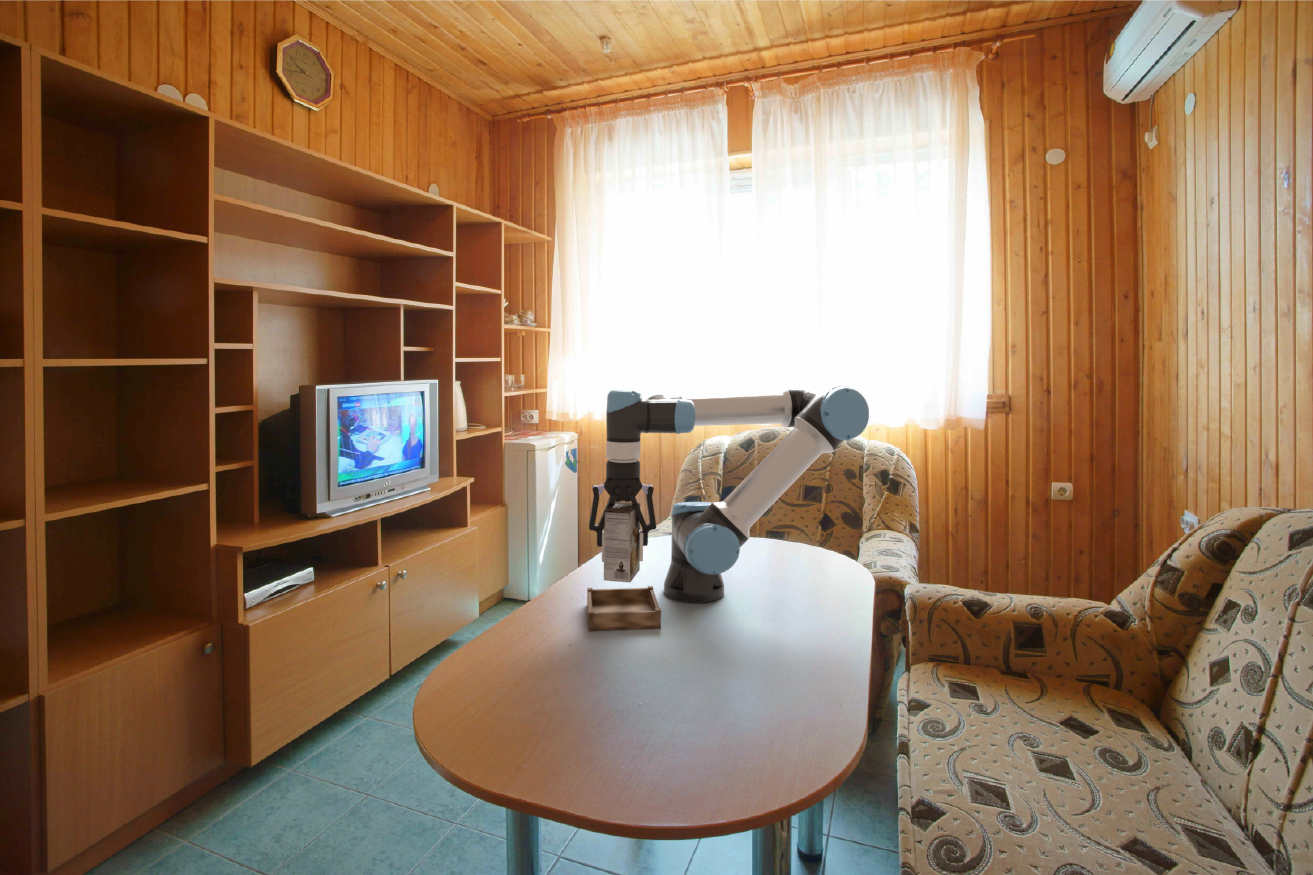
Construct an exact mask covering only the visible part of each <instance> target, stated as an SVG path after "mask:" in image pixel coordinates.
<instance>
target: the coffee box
mask: <svg viewBox="0 0 1313 875" xmlns="http://www.w3.org/2000/svg"><path fill="white" fill-rule="evenodd" d="M637 503H638V505H639V508H640V509H641V503H640V502H637ZM604 509H605V508H604ZM603 512H604V529H603V531H604V562H603V581H605V582H606V581H607V582H619V583H628V584H629V583H631V582H633V580H634V578H635V577H636V576H637V574H638V573H639V571H640V569H641V567H640V562H641V561H639V558H638V549H639V530H641V524H640V522H639V519H638V517H637V515H636V508H635V507H633V505H632V502H625V501H621V502H615V504H614V506H613V508H606V509H605V510H603Z"/></svg>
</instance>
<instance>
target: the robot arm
mask: <svg viewBox="0 0 1313 875" xmlns="http://www.w3.org/2000/svg"><path fill="white" fill-rule="evenodd" d="M605 411H606V440H605V441H606V443H605V444H606V446H605V447H606V450H605V455H606V456H605V458H607V459H608V460H607V461H606V462H605V464H606V465H605V471H606V472H605V480H604V483H602V484H598V485H597V484H594V485H593V484H592V488H591V489H592V493H593V496H592V502H591V503H592V504H591V508H590V509H591V511H590V516H589V521H588V529H589V530H590V531H593V532H595V533H596V545H597V547H599V548H600V547H601V563H604V510H605V509H606V508H613V506H614V504H615V502H627V503H632V505H633V507H635V508H636V515H637V517H638V519H639V522H640V528H641V529H640V530H639V549H638V558H639V561H640V562H643V561H644V547H647V546H648V545H649V532H650V531H653V530H656V529H657V520H656V516H655V514H656V513H655V508H654V501H653V500H654V498H653V495H654V489H655V488H654V486H653V485H652V484H650V483H649V484H645V483H642V481H641V462H640V460H639V459H640V458H641V435H642V434H677V435H680V434H689V433H692V432H693V431H694V428H695V427H700V426H701V427H703V426H704V427H705V426H708V427H709V426H732V425H733V426H735V425H736V426H737V425H740V426H742V425H773V424H780V425H781V426H782V427H783V428H793V429H792V430H791V431H790V432H788V434H787V435H786V436H785V437H784V438H783V439H782V440H781V441H780V442H779V443H778V444H777V445H776V446H775V447H774V448H773V449H772V450H771V451H770V452H769V453H768V454H767V455H766V456H765V458H763V459H762V461H761V462H760V463H759V464H758V465H757V466H756V467H754V469H753V470H751V471H750V473H749V474H748V475H747V476H746V477H745V478H744V479H743V480H742V481H741V482H740V483H739V484H738V485H737V486H736V487H735V488H734V489H733V491H731V493H729V495H727V496H726V498H724V499H723V500H722V501H717V502H715V501H714V502H713V501H712V502H709V501H688V502H686V501H684V502H683V501H682V502H678V503H675V504H674V505H673V506H672V509H671V511H672V512H671V516H670V517H671V555H670V556H671V561H670V564H669V567H668V570H667V572H666V573H667V574H666V575H665V579H664V584H663V593H664V595H665V596H666V597H667V598H670V599H672V600H674V601H677V602H684V603H691V604H692V603H697V604H698V603H710V602H714V601H717V600H720V599H721V598H723V597H724V595H725V584H724V580H723V576H722V573H725V572H727V571H729V570H730V569H731V568H732V567H733V566H734V565H735V564H736V563H737V561H738V559H739V556H740V551H741V547H742V546H743V545H745V543H746V542H747V541H748V540H749V539H750V529H751V527H752V526H754V525H755V523H757V521H758V520H759V519H760V518H761V517H762V516H763V515H764V514H765V513H766V512H767V511H768V510H769V509H770V508H771V507H772V506H773V504H774V503H776V502H777V500H778V499H779V498H780V497H781V496H783V494H785V492H786V491H788V489H789V488H790V487H791V486H792V485H793V484H794V483H795V482H796V481H797V480H798V478H800V476H802V475H803V473H804V472H805V471H807V469H808V468H810V466H811V465H812V464H813V463H814V462H815V461H816V460H817V459H818V458H819V457H820V456H821V455H822V454H831V453H834V451H836V449H837V448H838V447H840V445H841V444H842V443H843V442H844V441H850V440H853V439H855V438H857V437H858V436H860V435H861V434H862V433H864V431H865V429H866V427H867V426H868V424H869V420H870V408H869V405H868V402H867V399H866V398H865V397H864V396H863V394H861V393H860V392H859V391H858V390H857V389H854V388H852V387H849V386H846V385H830V384H816V385H815V384H814V385H807V386H800V387H792V388H789V387H788V388H782V389H781V390H780V391H779V392H761V393H758V392H757V393H727V394H726V393H725V394H724V393H722V394H719V393H718V394H687V395H684V394H683V395H682V394H681V395H663V394H653V395H652V396H650V397H648V398H647V399H646V398H643V396H642V394H641V391H640V390H637V389H613V390H610V391H609V392H608V393H607V400H606V410H605ZM604 490H605V491H606V493H607V494H608V495H609V498H608V499H607V503H606V505H605V508H604V510H603V512H602V515H601V516H600V519H599V522H598V523H597V524H596V521H597V516H598V515H597V514H598V510H599V509H598V508H599V503H600V496H601V495H602V494H603V491H604ZM641 490H642V491H643V495H645V499H646V506H647V513H648V521H649V523H647V522H646V520H645V518H644V515H643V513H642V510H641V507H640V508H639V505H638V503H639V502H638V500H637V497H636V496H637V495H638V494H639V493H640V491H641Z"/></svg>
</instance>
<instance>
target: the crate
mask: <svg viewBox="0 0 1313 875" xmlns="http://www.w3.org/2000/svg"><path fill="white" fill-rule="evenodd" d="M586 592H587V593H586V594H587V595H586V600H587V602H586V603H587V604H586V607H587V623H588V624H587V627H588V632H605V631H628V630H629V631H630V630H632V631H634V630H636V631H637V630H658V629H659V630H660V629H661V628H662V626H661V625H662V620H661V618H662V610H661V608H660V605H659V603H658V602H659V601H658V599H657V597H656V594H655V591H654V586H653V585H649V586H648V585H647V587H632V588H631V587H628V588H624V587H623V588H622V587H621V588H595V589H594V588H593V587H587V590H586Z"/></svg>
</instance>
